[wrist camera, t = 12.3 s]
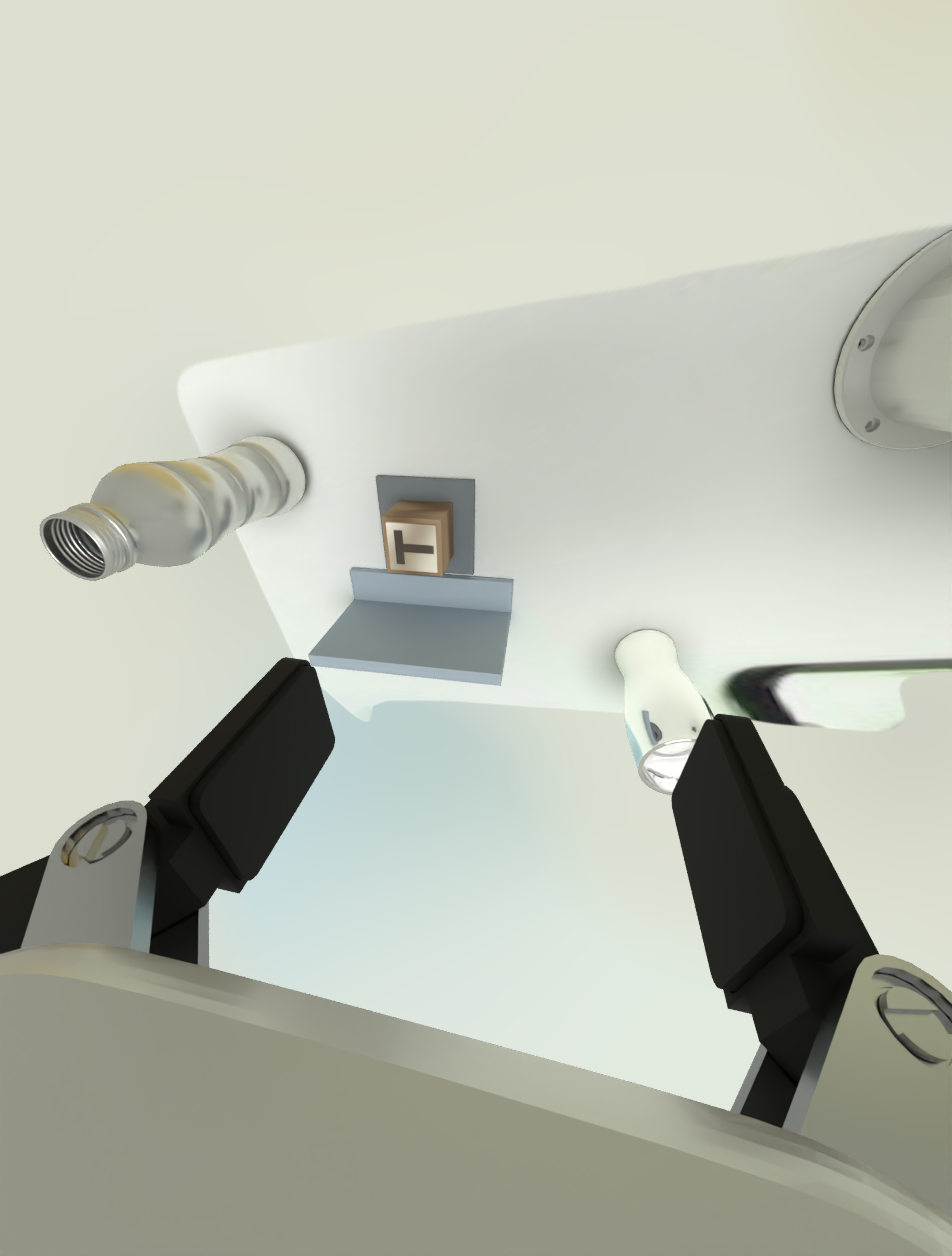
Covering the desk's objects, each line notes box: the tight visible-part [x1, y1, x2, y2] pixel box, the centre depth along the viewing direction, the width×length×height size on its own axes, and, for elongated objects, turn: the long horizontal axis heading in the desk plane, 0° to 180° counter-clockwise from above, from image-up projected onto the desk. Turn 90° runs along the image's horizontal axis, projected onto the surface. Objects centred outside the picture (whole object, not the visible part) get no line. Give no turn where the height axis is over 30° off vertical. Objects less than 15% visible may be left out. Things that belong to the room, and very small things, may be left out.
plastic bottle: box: [40, 436, 305, 581], centre depth 30 cm, size 6×7×20 cm
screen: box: [308, 568, 513, 686], centre depth 38 cm, size 17×5×11 cm, turn 89°
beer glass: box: [615, 630, 714, 795], centre depth 37 cm, size 7×7×15 cm
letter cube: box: [381, 500, 454, 576], centre depth 36 cm, size 5×5×5 cm
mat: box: [376, 475, 475, 575], centre depth 38 cm, size 9×9×1 cm
